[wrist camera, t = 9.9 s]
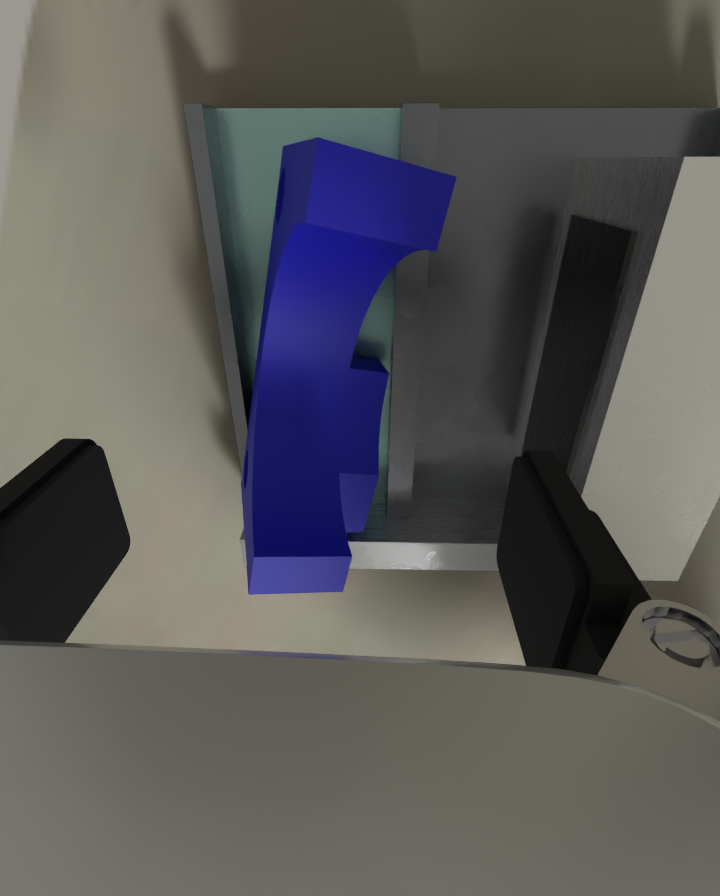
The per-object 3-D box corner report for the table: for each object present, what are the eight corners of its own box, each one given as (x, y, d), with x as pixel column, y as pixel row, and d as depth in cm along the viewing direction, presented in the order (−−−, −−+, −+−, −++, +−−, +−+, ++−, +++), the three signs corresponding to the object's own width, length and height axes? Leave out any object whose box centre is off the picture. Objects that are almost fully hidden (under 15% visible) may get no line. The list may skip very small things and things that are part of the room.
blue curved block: (346, 488, 21) (385, 590, 16) (241, 483, 19) (248, 594, 14) (420, 183, 15) (516, 194, 10) (282, 145, 14) (317, 137, 9)
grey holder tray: (718, 110, 15) (952, 78, 9) (589, 512, 23) (665, 635, 17) (210, 111, 15) (104, 80, 9) (263, 507, 23) (225, 626, 17)
